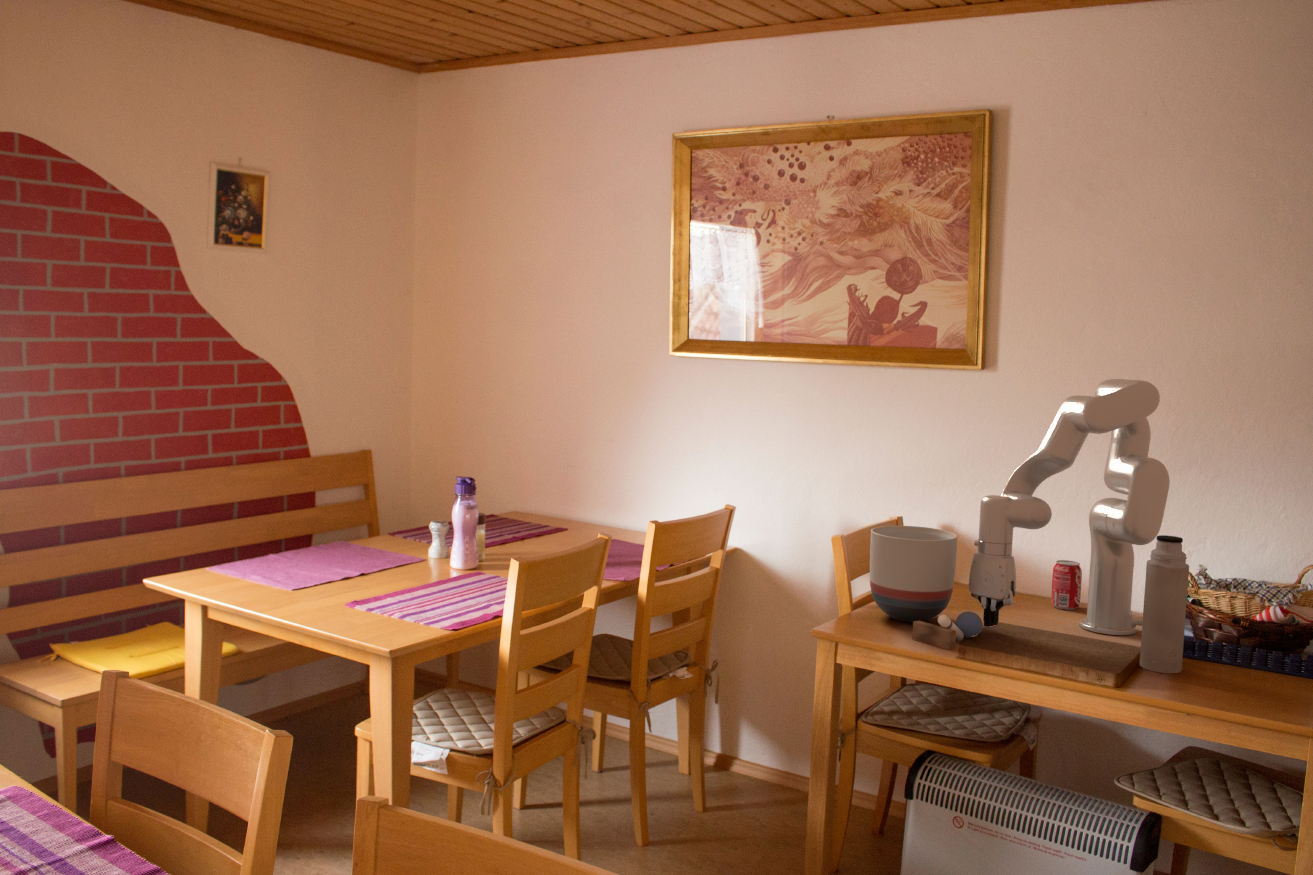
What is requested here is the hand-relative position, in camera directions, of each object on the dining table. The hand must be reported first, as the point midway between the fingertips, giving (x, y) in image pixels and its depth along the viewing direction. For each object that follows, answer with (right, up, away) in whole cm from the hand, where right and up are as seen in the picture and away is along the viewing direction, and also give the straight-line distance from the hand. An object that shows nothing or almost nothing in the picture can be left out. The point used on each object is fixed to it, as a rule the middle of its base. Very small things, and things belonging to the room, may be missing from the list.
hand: (990, 625), depth 240 cm
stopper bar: (-17, -2, -11) cm, 20 cm away
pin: (-10, -1, -8) cm, 12 cm away
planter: (-17, 0, +10) cm, 19 cm away
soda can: (+28, 0, +27) cm, 39 cm away
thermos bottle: (+28, -5, -24) cm, 37 cm away
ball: (-7, +1, -5) cm, 9 cm away
